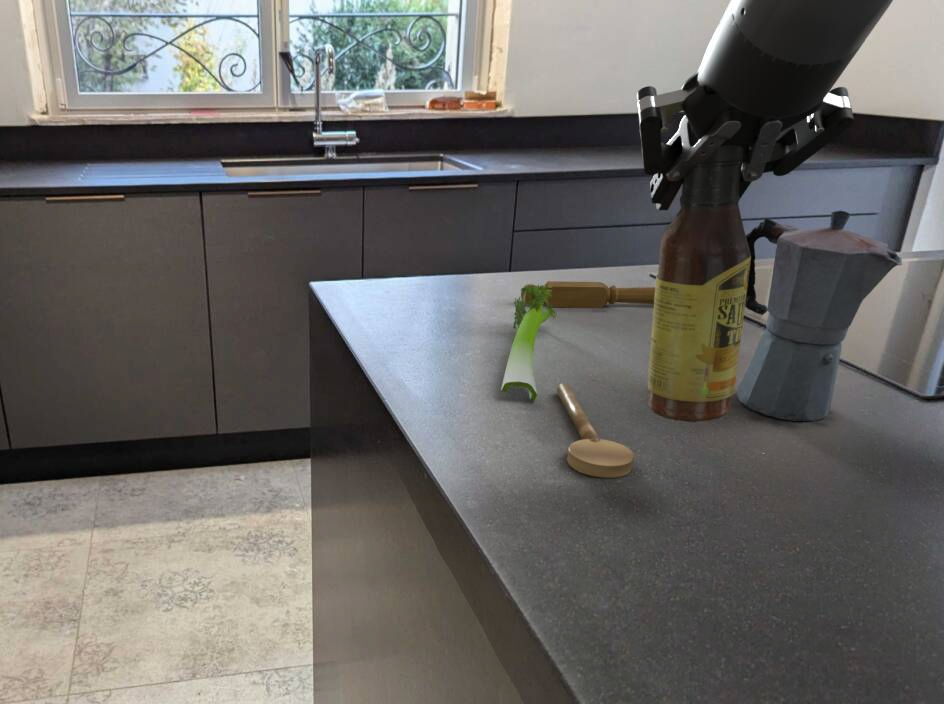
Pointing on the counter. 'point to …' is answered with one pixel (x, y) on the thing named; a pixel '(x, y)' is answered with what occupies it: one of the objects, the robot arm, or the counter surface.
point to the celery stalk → (527, 339)
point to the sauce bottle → (700, 295)
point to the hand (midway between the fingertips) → (689, 200)
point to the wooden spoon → (593, 444)
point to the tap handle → (592, 294)
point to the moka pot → (808, 313)
